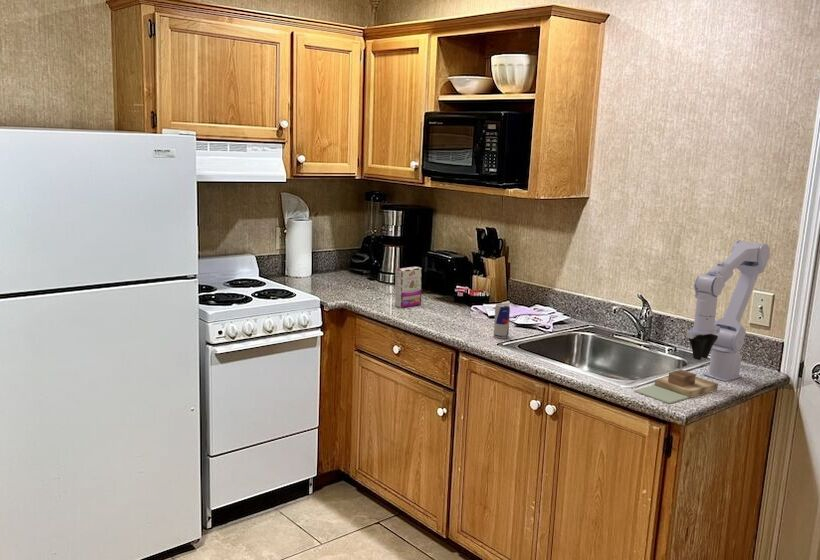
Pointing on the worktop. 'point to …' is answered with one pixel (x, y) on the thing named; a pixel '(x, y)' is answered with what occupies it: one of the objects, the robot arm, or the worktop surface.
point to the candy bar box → (408, 287)
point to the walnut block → (681, 378)
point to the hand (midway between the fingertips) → (700, 358)
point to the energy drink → (501, 321)
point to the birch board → (688, 387)
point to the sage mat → (661, 394)
